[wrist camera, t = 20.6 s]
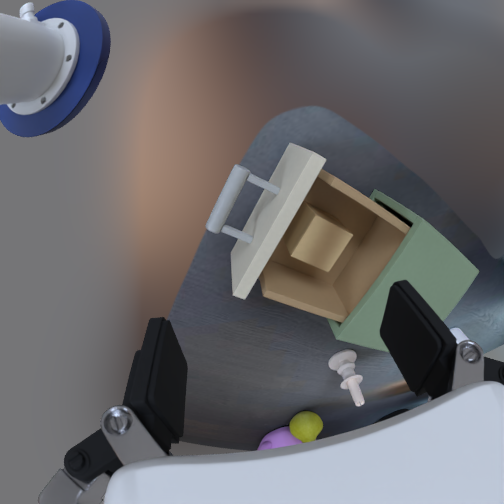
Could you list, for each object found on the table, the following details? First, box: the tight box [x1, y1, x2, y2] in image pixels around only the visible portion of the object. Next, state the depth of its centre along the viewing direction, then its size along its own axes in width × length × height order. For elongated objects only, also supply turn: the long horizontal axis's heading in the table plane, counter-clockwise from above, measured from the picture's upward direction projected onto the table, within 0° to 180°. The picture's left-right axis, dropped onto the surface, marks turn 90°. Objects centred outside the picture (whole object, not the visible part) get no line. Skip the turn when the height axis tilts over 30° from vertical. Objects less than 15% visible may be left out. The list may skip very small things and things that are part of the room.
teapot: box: [258, 426, 302, 450], centre depth 51 cm, size 13×20×11 cm
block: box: [282, 200, 353, 272], centre depth 27 cm, size 4×4×4 cm
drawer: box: [206, 143, 410, 323], centre depth 26 cm, size 18×14×8 cm
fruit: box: [289, 411, 323, 443], centre depth 46 cm, size 7×7×12 cm
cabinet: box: [327, 189, 479, 352], centre depth 30 cm, size 15×15×10 cm
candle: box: [328, 349, 365, 406], centre depth 39 cm, size 5×5×10 cm
